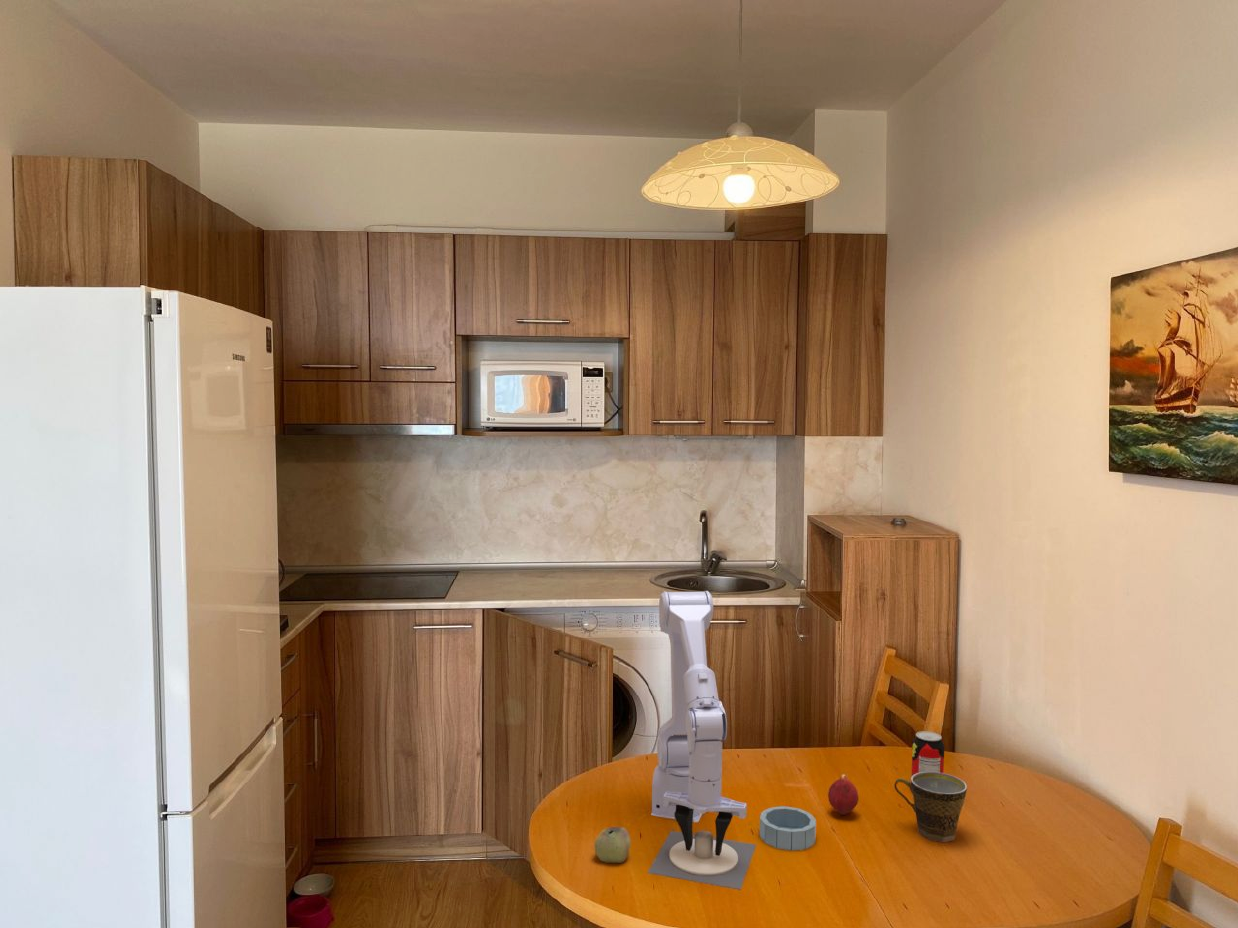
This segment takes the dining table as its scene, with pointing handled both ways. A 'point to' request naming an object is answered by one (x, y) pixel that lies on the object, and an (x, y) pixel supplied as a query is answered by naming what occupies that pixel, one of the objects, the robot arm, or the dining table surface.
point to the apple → (613, 845)
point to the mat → (728, 879)
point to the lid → (703, 856)
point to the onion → (843, 795)
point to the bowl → (787, 828)
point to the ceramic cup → (936, 803)
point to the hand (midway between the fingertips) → (703, 850)
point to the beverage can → (927, 753)
